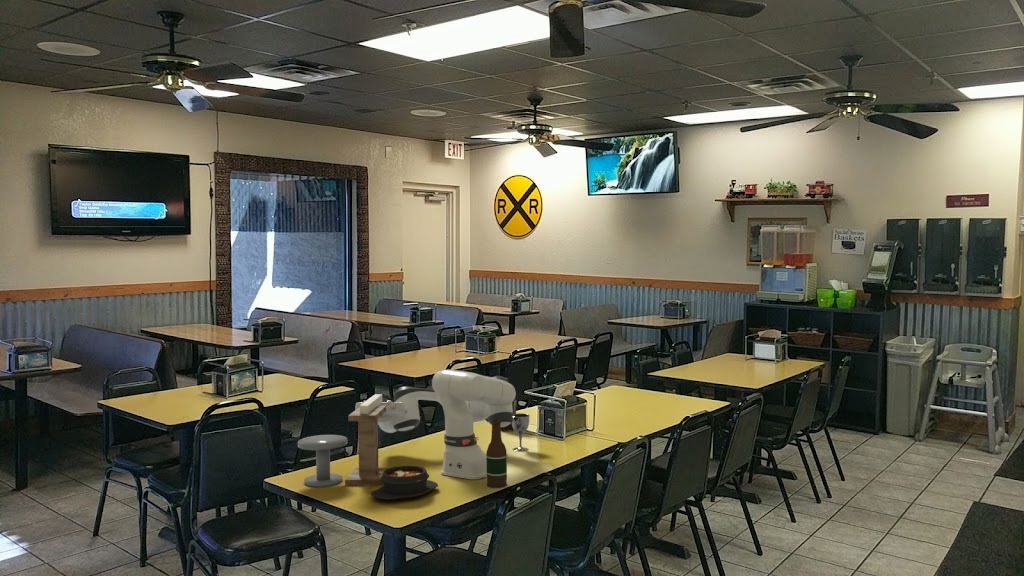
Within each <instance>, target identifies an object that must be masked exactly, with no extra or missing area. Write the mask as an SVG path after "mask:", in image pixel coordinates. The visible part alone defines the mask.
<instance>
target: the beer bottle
mask: <svg viewBox="0 0 1024 576" xmlns="http://www.w3.org/2000/svg"><path fill="white" fill-rule="evenodd" d="M491 423H492V425H491V439H490V442H489V444H488V446H487V449H486V460H487V477H486V486H487V487H489V488H493V489H496V488H499V489H502V488H503V487H504V488H505V487H507V481H508V472H507V471H508V467H507V466H508V465H507V464H508V462H507V461H508V459H507V458H508V457H507V455H508V454H507V447H506V445H505V443H504V442H503V440H502V431H501V426H500V423H501V420H499V419H493V420H492V422H491Z"/></svg>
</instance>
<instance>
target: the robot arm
mask: <svg viewBox="0 0 1024 576" xmlns="http://www.w3.org/2000/svg"><path fill="white" fill-rule="evenodd" d="M506 378H507V377H504V376H502V375H501V376H500V375H495V376H492V377H490V376H486V375H482V374H480V373H479V374H478V373H475V372H471V371H463V370H456V369H444V370H443V369H442V370H439V371H437V372H435V374H434V375H433V377H432V380H431V386H432V389H430V388H420V387H418V388H417V387H414V386H400V387H398V388H397V390H396V391H395V392H394V394H393V401H392V400H389V399H388V400H386V402H385V401H384V402H383V401H382V402H381V403H380V404H379V405H378V406H386V412H385V413H384V414H383V415H381V416H380V417H379V418H378V426H379V427H378V428H380V429H381V430H382V431H384V432H385V433H389V434H393V433H395V432H400V433H402V432H409V431H413V430H414V429H416V428H417V427H418V426H419V424H420V423H421V421H420V418H421V417H420V410H419V401H420V400H421V401H432V402H433V401H435V402H438V403H439V404H440V405H441V406H442V409H443V414H444V431H445V432H444V438H443V440H444V442H443V443H444V451H443V461H442V467H441V472H440V474H441V475H444V476H449V477H455V478H461V479H466V480H479V479H484V478H487V460H486V455H487V453H485V452H484V450H483V449H482V448H481V447H480V446H479V444H478V441H479V438H480V437H478V436H476V435H475V432H474V423H478V422H479V423H480V422H482V421H486V422H487V423H489V425H491V426H492V423H491V422H492V420H493V419H499V420H501V423H500V426H501V427H505V426H508V425H510V424H511V423H512V422H513V408H512V402H513V401H514V399H515V395H516V396H517V393H516V388H515V387H514V385H513V384H512V383H510V382H509V383H508V381H507V379H506ZM365 401H366V400H363V402H362V401H361V402H356V403H355V409H354V411H355V410H356V409H358V408H359V407H360V405H361V404H363V403H364V402H365Z"/></svg>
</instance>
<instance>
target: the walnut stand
mask: <svg viewBox="0 0 1024 576" xmlns="http://www.w3.org/2000/svg"><path fill="white" fill-rule="evenodd" d="M385 412H386V406H377V407H375V408H374V409H373V410H372V411H371V412H370V413H368V414H360V407H359V408H358V409H356V410H355V409H354V411H352V412H351V413H350V414H348V418H347V419H348V420H347V421H348V422H357V433H358V434H357V435H358V436H357V437H358V440H357V441H358V467H355V468H354V470H352V471H351V473H349V475H348V476H347V477H346V478H345V479H344V486H383V482H382V481H381V479H380V478H381V476H382V475H383V472H384V471H385V470H386V469H389V468H390V467H380V466H379V430H378V429H379V427H378V426H379V425H378V418H379V417H380V416H381V415H383V414H384V413H385Z"/></svg>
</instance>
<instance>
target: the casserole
mask: <svg viewBox="0 0 1024 576" xmlns="http://www.w3.org/2000/svg"><path fill="white" fill-rule="evenodd" d="M388 468H389V469H386V470H385V471H384V472H383V475H382V476H381V478H380V479H381V481H382V482H383V485H381V486H380V487H379V488H377V489H375V490H372V491H371V492H370V495H371V496H372V497H374V498H376V499H379V500H384V501H385V500H387V501H389V500H397V499H398V500H408V499H415V498H417V497H420V496H422V495H425V494H428V493H429V492H430V491H432V490H434V489H436V488H438V487H439V484H438V483H437V482H436V481H433V480H429V478H430V474H429V473H428V472H427V469H426V468H425V467H423V466H418V465H399V466H393V467H392V466H391V467H388Z"/></svg>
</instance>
